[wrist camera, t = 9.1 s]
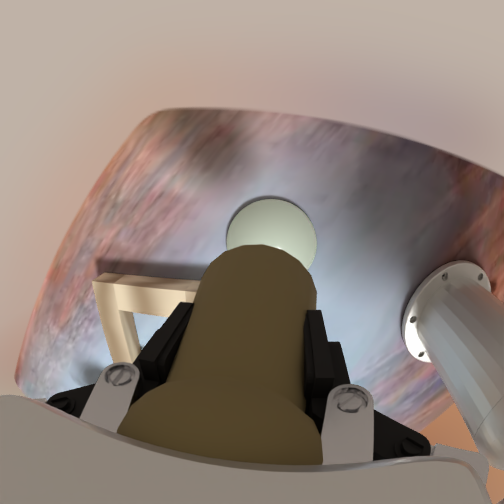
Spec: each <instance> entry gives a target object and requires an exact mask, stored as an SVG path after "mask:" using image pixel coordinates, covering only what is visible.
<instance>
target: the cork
mask: <svg viewBox="0 0 504 504" xmlns="http://www.w3.org/2000/svg"><path fill="white" fill-rule="evenodd" d="M316 298H317V291H316V288H315V285H314V282H313V279H312V277H311V275H310V273H309V272H308V271H307V269H306V268H305V267H304V266H303V264H302V263H301V262H300V261H299V260H298V259H296V258H295V257H293V256H292V255H290V254H289V253H287V252H286V251H284V250H282V249H279V248H275V247H271V246H268V245H264V244H256V245H242V246H239V247H236V248H233V249H230V250H228V251H225V252H224V253H222V254H221V255H220V256H219V257H217V258H216V259H215V260H214V261H212V262H211V263H210V265H209V267H208V268H207V270H206V272H205V273H204V275H203V277H202V279H201V281H200V284H199V287H198V290H197V292H196V295H195V298H194V301H193V303H194V307H193V310H192V313H191V317H190V319H189V322H188V325H187V327H186V330H185V332H184V335H183V337H182V340H181V342H180V345H179V348H178V350H177V353H176V355H175V358H174V361H173V363H172V366H171V369H170V371H169V374H168V377H167V380H166V383H164V384H162V385H160V386H158V387H156V388H155V389H153V390H151V391H149V392H147V393H146V394H144V395H143V396H142V397H141V398H140V399H139V400H137V401H136V402H135V403H134V404H133V405H132V406H131V407H130V409H129V410H128V412H127V414H126V415H125V417H124V418H123V420H122V422H121V423H120V425H119V427H118V429H117V432H116V433H117V434H120V435H123V436H126V437H129V438H132V439H135V440H138V441H142V442H145V443H148V444H152V445H156V446H159V447H163V448H167V449H171V450H175V451H179V452H184V453H189V454H193V455H198V456H203V457H208V458H216V459H223V460H230V461H238V462H247V463H258V464H274V465H322V464H323V451H322V440H321V437H320V434H319V432H318V429H317V427H316V425H315V423H314V420H312V419H311V418H310V417H309V416H308V415H306V414H305V410H306V399H305V397H304V329H303V326H304V321H305V317H306V313H307V310H316Z"/></svg>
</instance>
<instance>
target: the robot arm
mask: <svg viewBox="0 0 504 504" xmlns="http://www.w3.org/2000/svg"><path fill="white" fill-rule="evenodd" d="M193 307H194V303H190V302H180V303H179V304H178V305H177V307H176V308H175V309H174V311H173V312H172V313H171V315H170V316H169V317H168V319H167V320H166V321H165V323H164V324H163V325H162V327H161V328H160V329H158V330H157V331H156V332H155V333H154V335H153V336H152V337H151V339H150V340H149V341H148V343H147V344H146V346H145V347H144V348H143V350H142V351H141V352H140V354H139V355H138V356H137V358H136V359H135V361H134V362H133V363H132V364H131V363H127V362H118V363H113V364H111V365H109V366H107V367H106V368H105V369H104V370H103V371H102V373H101V374H100V376H99V378H98V380H97V382H96V383H95V384H91V385H88V386H84V387H80V388H76V389H73V390H69V391H65V392H60V393H57V394H55V395H53V396H52V397H50V398H49V400H48V401H47V400H46V398H44V399H31V398H27V397H23V396H16V395H2V396H0V504H492V503H491V500H490V497H489V494H488V492H487V490H486V487H485V486H486V482H487V476H488V471H489V465H490V466H492V467H494V468H497V469H500V470H504V303H503V302H502V301H500V300H499V299H498V298H497V297H495V296H494V295H493V294H492V293H491V286H490V282H489V279H488V277H487V275H486V273H485V272H484V271H483V270H482V269H481V268H480V267H479V266H477V265H476V264H474V263H472V262H469V261H464V260H458V261H453V262H449V263H447V264H445V265H443V266H441V267H439V268H438V269H436V270H435V271H433V272H432V273H431V274H430V275H429V276H428V277H427V278H426V279H425V280H424V281H423V282H422V283H421V284H420V286H419V287H418V288H417V289H416V291H415V293H414V294H413V296H412V297H411V299H410V301H409V303H408V305H407V308H406V310H405V314H404V317H403V323H402V337H403V341H404V344H405V346H406V347H407V349H408V351H409V352H410V354H411V355H412V356H413V357H415V358H416V359H418V360H420V361H423V362H432V363H433V365H434V367H435V368H436V370H437V372H438V374H439V375H440V377H441V379H442V380H443V382H444V384H445V386H446V387H447V389H448V391H449V393H450V395H451V396H452V398H453V400H454V402H455V404H456V406H457V408H458V409H459V411H460V413H461V415H462V417H463V419H464V421H465V423H466V425H467V427H468V429H469V431H470V433H471V436H472V438H473V440H474V442H475V444H476V446H477V449H478V451H479V453H477V452H472V451H467V450H462V449H458V448H453V447H449V446H445V445H441V444H436V445H435V446H432V445H430V443H429V441H428V440H427V438H426V437H424V436H423V435H421V434H420V433H418V432H416V431H414V430H412V429H410V428H408V427H406V426H404V425H402V424H400V423H398V422H396V421H394V420H393V419H391V418H389V417H387V416H385V415H383V414H381V413H379V412H378V411H376V410H374V404H373V397H372V395H371V394H370V392H369V391H367V390H366V389H365V388H363V387H361V386H359V385H354V384H350V379H349V375H348V371H347V367H346V363H345V359H344V355H343V352H342V348H341V344H340V342H328V340H327V335H326V330H325V326H324V321H323V316H322V312H321V310H307V313H306V317H305V321H304V326H303V329H304V397H305V399H306V410H305V414H306V415H308V416H309V417H310V418H311V419H312V420H314V423H315V425H316V427H317V429H318V432H319V434H320V437H321V440H322V451H323V464H322V465H274V464H258V463H247V462H238V461H230V460H223V459H216V458H208V457H203V456H198V455H193V454H189V453H184V452H179V451H175V450H171V449H167V448H163V447H159V446H156V445H152V444H148V443H145V442H142V441H138V440H135V439H132V438H129V437H126V436H123V435H120V434H117V433H116V432H117V429H118V427H119V425H120V423H121V422H122V420H123V418H124V417H125V415H126V414H127V412H128V410H129V409H130V407H131V406H132V405H133V404H134V403H135V402H136V401H137V400H139V399H140V398H141V397H142V396H143V395H144V394H146V393H147V392H149V391H151V390H153V389H155V388H156V387H158V386H160V385H162V384H164V383H166V380H167V377H168V374H169V371H170V369H171V366H172V363H173V361H174V358H175V355H176V353H177V350H178V348H179V345H180V342H181V340H182V337H183V335H184V332H185V330H186V327H187V325H188V322H189V319H190V317H191V313H192V310H193ZM497 504H504V499H503V500H501V501H500V502H498V503H497Z"/></svg>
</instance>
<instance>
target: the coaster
mask: <svg viewBox="0 0 504 504" xmlns="http://www.w3.org/2000/svg"><path fill="white" fill-rule="evenodd" d="M256 244H264V245H268V246H271V247H275V248H279V249H282V250H284V251H286V252H287V253H289V254H290V255H292V256H293V257H295V258H296V259H298V260H299V261H300V262H301V263H302V264H303V266H304V267H305V268H306V269H307V270H308V268H309V267H310V265H311V264H312V262H313V260H314V257H315V253H316V247H317V240H316V234H315V230H314V228H313V225H312V223H311V221H310V220H309V218H308V217H307V216H306V214H305V213H304V212H303V211H302V210H301V209H299V208H298V207H296V206H295V205H293V204H291V203H289V202H286V201H283V200H279V199H264V200H259V201H256V202H254V203H252V204H249V205H248V206H246V207H245V208H244V209H242V210H241V211H240V212H239V213H238V214H237V215H236V216H235V218H234V219H233V221H232V223H231V225H230V227H229V230H228V234H227V250H230V249H233V248H236V247H239V246H242V245H256Z"/></svg>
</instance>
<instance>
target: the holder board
mask: <svg viewBox="0 0 504 504" xmlns="http://www.w3.org/2000/svg"><path fill="white" fill-rule="evenodd" d="M92 284H93V289H94V294H95V298H96V303H97V307H98V311H99V315H100V319H101V323H102V326H103V330H104V334H105V337H106V340H107V344H108V347H109V350H110V353H111V357H112V360H113V363H118V362H127V363H131V364H132V363H133V362H134V361H135V359H136V358H137V356H138V355H139V354H140V352H141V348H140V344H139V340H138V336H137V331H136V327H135V322H134V318H133V313H132V312H135V313H142V314H149V315H156V316H163V317H169V316H170V315H171V313H172V312H173V311H174V309H175V308H176V307H177V305H178V304H179V303H180V302H190V303H193V301H194V298H195V295H196V292H197V290H198V287H199V284H200V281H199V280H185V279H172V278H160V277H148V276H137V275H126V274H116V273H106V272H105V273H103V274H102V275H100V276H99V277H97V278H95V279H94V280H92Z"/></svg>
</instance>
